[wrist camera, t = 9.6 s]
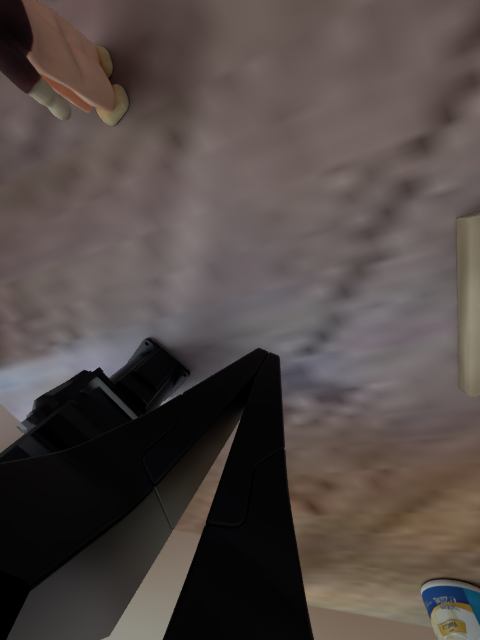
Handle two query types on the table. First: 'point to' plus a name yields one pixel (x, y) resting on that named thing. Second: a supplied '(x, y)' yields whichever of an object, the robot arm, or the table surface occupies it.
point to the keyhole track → (469, 302)
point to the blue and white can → (453, 609)
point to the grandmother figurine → (57, 62)
